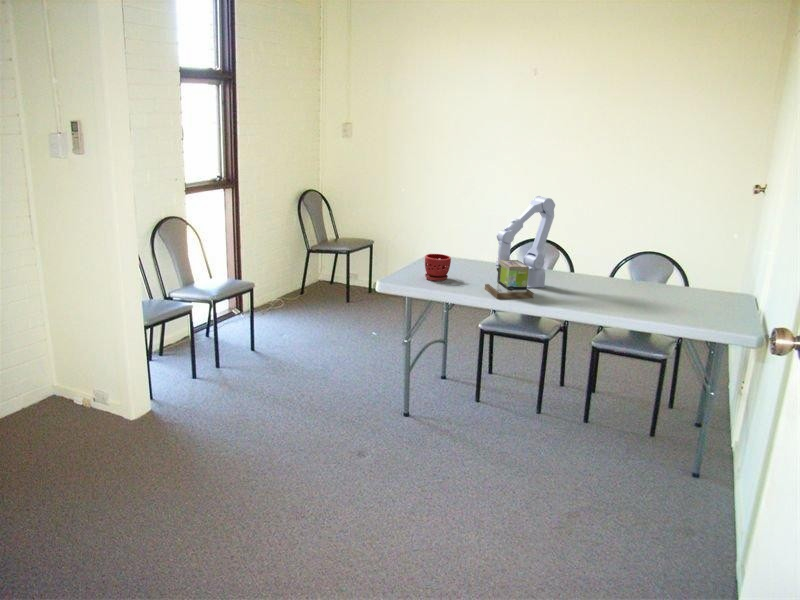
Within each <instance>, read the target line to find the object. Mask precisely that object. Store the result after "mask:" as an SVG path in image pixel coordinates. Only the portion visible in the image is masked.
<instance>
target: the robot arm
mask: <svg viewBox="0 0 800 600" xmlns="http://www.w3.org/2000/svg"><path fill="white" fill-rule="evenodd" d="M555 207H556V203H555V201H554V199H553V198H550V197H544V196H540V195H538V196H535V197H534V198H533V199H532V200H531V201H530V203H529V205H528V207H526V209H525V210H524V211H523V213H521V215H520V216H519V217H518V218H513V219H511V220H510V223H509V224H508V225H507V226H505V227H504V229H502V230H500V231H498V233H497V235H496V239H497V241H498V249H497V250H498V251H497V260H496V261H495V263H494V267H495V266H496V271H497V272H498V266H499V260H511V247H512V246H511V244H512V242H514V240H515V237H516V235H517V234H518V233H519V232H520V231H521V230H522V228H524V223H525V222H527V221H528V220H529V219H530V218H531V217H532V216H534V214H537V213H538V214H539V215H540V216H541V218H540V222H539V225H538V228H537V232H536V233H535V237H534V241H533V242H532V247H531V248H530V249H528V250H527V252H526V254H525V255H524V256H523V261H522V263H524V264H525V265H527V266H529V272H528V282H527V289H530V288H531V289H532V288H535V289H536V288H545V287H546V286H545V282H546V270H545V268H543V267H544V264H545V257H546V256H545V253H544V248H545V245H546V243H547V238H548V236H549V233H550V230H551V227H552V225H553V221H554V218H555Z"/></svg>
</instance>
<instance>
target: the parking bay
mask: <svg viewBox="0 0 800 600" xmlns="http://www.w3.org/2000/svg"><path fill="white" fill-rule="evenodd" d="M484 290H485V291H486V292H488V293H489V294H490V295H491V296H493V297H494V298H495V299H496V300H499V299H500V300H506V299H507V300H508V299H509V298H512V299H533V298H534V292H533V291H532V290H530V289H529V288H527V292H507V293H502V292H500V291H499V290H498V289H497V288H494V287H493V286H492V285H491V284H490V283H486V284H484Z"/></svg>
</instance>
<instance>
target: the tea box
mask: <svg viewBox="0 0 800 600" xmlns="http://www.w3.org/2000/svg"><path fill="white" fill-rule="evenodd" d="M497 268H498V271H497V279H496V290H497V291H498V292H499V293H507V292H527V289H528V288H527V282H528V272H529V266H527V265H525V264H524V262H523V261H520V260H518V259H510V260H499V266H497Z"/></svg>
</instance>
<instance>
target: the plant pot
mask: <svg viewBox="0 0 800 600" xmlns="http://www.w3.org/2000/svg"><path fill="white" fill-rule="evenodd" d="M451 262H452V258H451V256H449V255H446V254H442V253H428V254H426V255H425V256H424V268H425V272H426V273H425V274H424V277H425V278H426V279H427V280H430V281H433V280H434V281H435V282H438V281H439V282H441V281H442V282H443V281H445V280H447V279H448V273H449V272H450V268H451ZM434 281H433V282H434Z"/></svg>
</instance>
